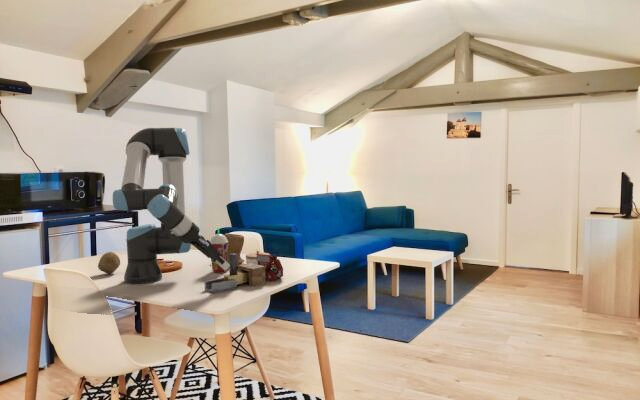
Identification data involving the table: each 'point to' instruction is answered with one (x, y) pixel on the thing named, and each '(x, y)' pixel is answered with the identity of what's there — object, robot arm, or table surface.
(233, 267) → the brass block with handle
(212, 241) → the smoothie
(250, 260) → the lidded jar
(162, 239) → the robot arm
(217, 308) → the table surface
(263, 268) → the socket
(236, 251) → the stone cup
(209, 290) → the channel
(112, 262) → the natural sponge
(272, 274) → the toy fire truck
